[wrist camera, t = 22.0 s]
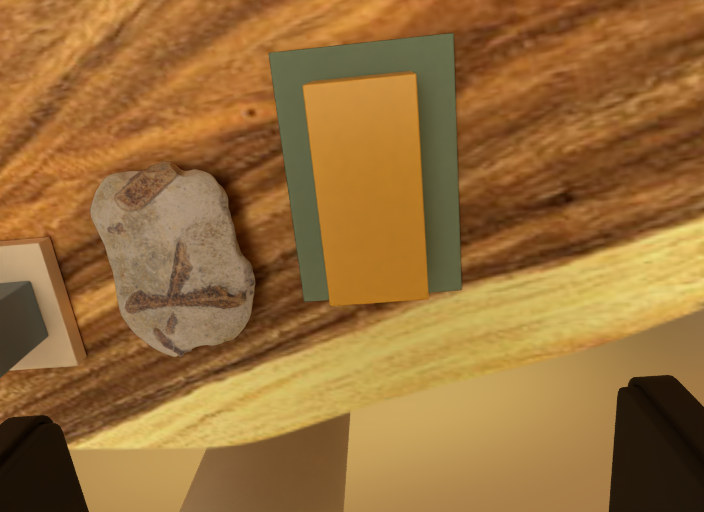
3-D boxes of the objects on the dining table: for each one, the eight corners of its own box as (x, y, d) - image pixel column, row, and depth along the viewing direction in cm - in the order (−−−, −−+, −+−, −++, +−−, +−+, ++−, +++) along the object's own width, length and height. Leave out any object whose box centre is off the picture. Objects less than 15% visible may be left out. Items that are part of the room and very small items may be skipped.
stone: (279, 322, 28) (270, 347, 26) (150, 349, 29) (129, 376, 27) (221, 144, 25) (204, 153, 23) (78, 180, 26) (48, 193, 24)
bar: (411, 70, 23) (416, 72, 20) (422, 271, 27) (428, 299, 24) (311, 80, 24) (301, 84, 21) (334, 278, 27) (329, 306, 24)
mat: (460, 287, 27) (461, 290, 27) (305, 298, 28) (304, 302, 28) (452, 33, 23) (453, 32, 23) (269, 52, 24) (268, 52, 23)
